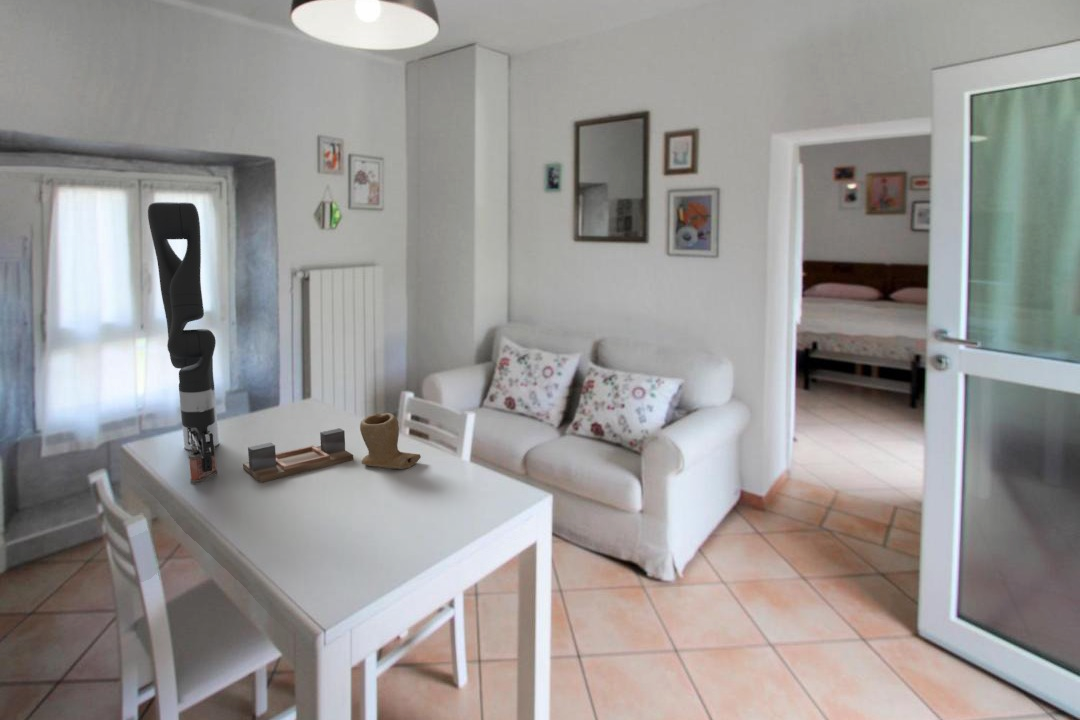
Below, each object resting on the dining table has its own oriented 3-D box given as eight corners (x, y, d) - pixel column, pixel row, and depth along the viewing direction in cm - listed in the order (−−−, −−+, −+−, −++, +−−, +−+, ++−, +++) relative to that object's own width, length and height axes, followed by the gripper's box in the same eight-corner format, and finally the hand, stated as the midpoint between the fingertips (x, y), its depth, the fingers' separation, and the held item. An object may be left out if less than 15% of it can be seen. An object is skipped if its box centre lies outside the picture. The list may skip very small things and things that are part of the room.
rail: (243, 468, 170) (241, 442, 169) (333, 447, 188) (332, 424, 187) (260, 482, 161) (259, 455, 160) (353, 459, 179) (352, 434, 177)
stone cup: (352, 470, 171) (350, 418, 168) (375, 455, 183) (373, 406, 180) (401, 477, 167) (400, 424, 164) (421, 462, 178) (421, 412, 175)
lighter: (198, 484, 159) (195, 447, 157) (187, 483, 160) (183, 446, 158) (220, 473, 167) (217, 437, 165) (209, 471, 167) (206, 436, 165)
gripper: (173, 403, 162) (179, 462, 165) (189, 415, 151) (194, 477, 155) (204, 398, 167) (209, 456, 170) (222, 410, 157) (226, 470, 160)
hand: (202, 466), depth 162 cm, fingers open, 8 cm apart
